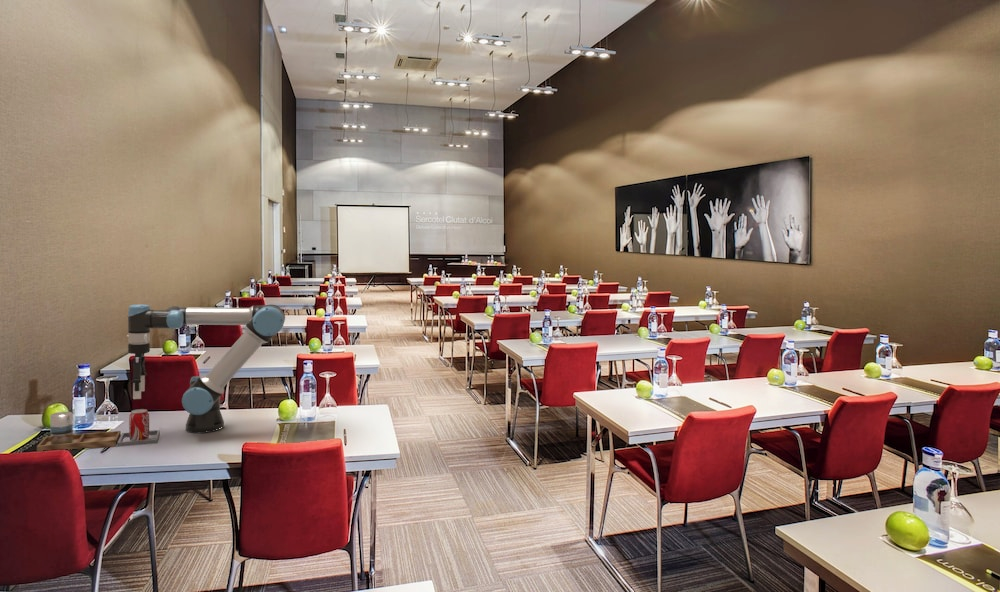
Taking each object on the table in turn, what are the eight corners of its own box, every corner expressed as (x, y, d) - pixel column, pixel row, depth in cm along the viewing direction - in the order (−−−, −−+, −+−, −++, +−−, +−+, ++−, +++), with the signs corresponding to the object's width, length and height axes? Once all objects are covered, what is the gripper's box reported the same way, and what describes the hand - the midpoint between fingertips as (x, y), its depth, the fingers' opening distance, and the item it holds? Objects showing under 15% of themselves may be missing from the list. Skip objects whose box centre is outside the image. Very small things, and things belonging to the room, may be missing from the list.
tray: (159, 433, 259) (159, 430, 259) (157, 443, 247) (157, 439, 247) (122, 436, 254) (122, 432, 254) (117, 446, 241) (117, 442, 241)
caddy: (120, 436, 253) (120, 430, 253) (116, 446, 241) (116, 440, 241) (45, 442, 243) (45, 436, 242) (36, 452, 231) (36, 446, 231)
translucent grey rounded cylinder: (74, 441, 244) (74, 411, 243) (70, 446, 238) (70, 415, 237) (52, 442, 241) (52, 412, 240) (48, 448, 235) (48, 417, 234)
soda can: (140, 443, 246) (140, 413, 245) (124, 441, 248) (124, 412, 247) (153, 438, 253) (153, 409, 252) (138, 436, 255) (138, 408, 254)
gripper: (132, 338, 257) (132, 388, 259) (124, 348, 235) (124, 402, 236) (152, 338, 261) (152, 387, 262) (146, 347, 238) (146, 401, 239)
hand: (139, 395), depth 249 cm, fingers open, 13 cm apart
